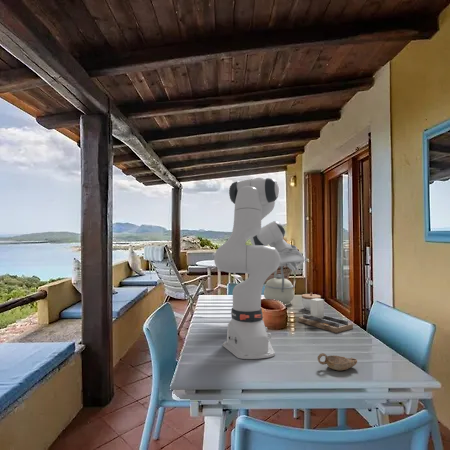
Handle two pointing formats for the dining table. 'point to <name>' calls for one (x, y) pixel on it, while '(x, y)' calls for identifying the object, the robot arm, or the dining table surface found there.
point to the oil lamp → (337, 362)
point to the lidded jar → (308, 300)
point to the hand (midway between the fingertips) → (295, 270)
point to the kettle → (279, 288)
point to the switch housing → (326, 323)
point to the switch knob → (317, 308)
